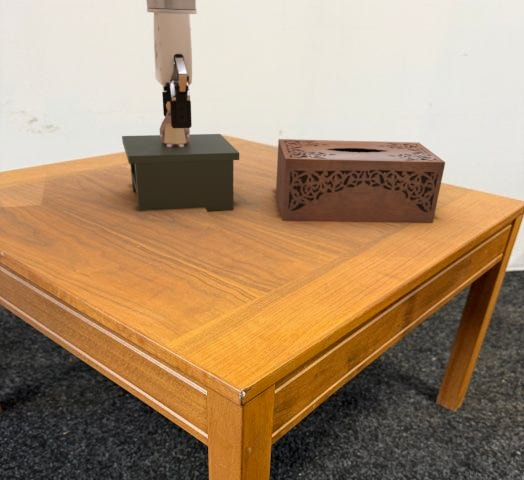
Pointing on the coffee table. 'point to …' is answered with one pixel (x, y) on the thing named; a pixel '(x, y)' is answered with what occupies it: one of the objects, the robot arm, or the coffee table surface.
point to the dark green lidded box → (182, 172)
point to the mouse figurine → (173, 132)
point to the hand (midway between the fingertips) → (177, 122)
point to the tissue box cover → (357, 181)
